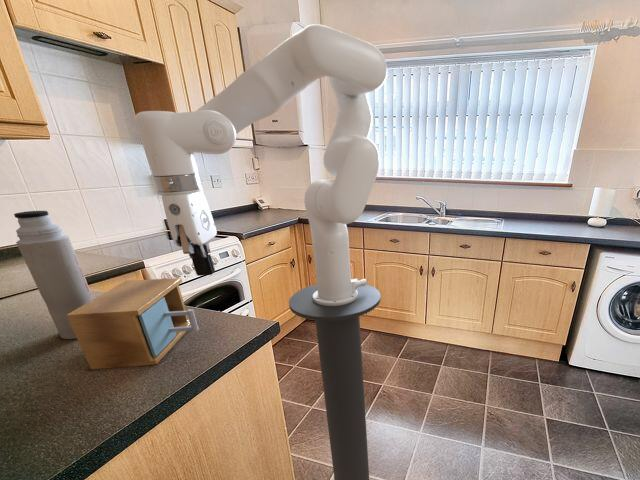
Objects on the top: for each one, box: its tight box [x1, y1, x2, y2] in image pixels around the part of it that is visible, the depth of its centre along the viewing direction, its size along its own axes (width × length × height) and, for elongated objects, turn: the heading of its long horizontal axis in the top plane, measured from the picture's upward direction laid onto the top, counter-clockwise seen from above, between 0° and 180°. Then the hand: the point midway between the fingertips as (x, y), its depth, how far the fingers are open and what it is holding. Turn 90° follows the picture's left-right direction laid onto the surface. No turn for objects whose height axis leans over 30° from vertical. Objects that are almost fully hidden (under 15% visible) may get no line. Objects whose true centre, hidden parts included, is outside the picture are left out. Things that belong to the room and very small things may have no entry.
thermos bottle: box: [13, 210, 95, 340], centre depth 75 cm, size 8×8×28 cm
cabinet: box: [67, 277, 191, 370], centre depth 72 cm, size 12×18×12 cm, turn 8°
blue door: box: [138, 297, 200, 357], centre depth 70 cm, size 6×9×9 cm
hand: (206, 273), depth 72 cm, fingers closed
